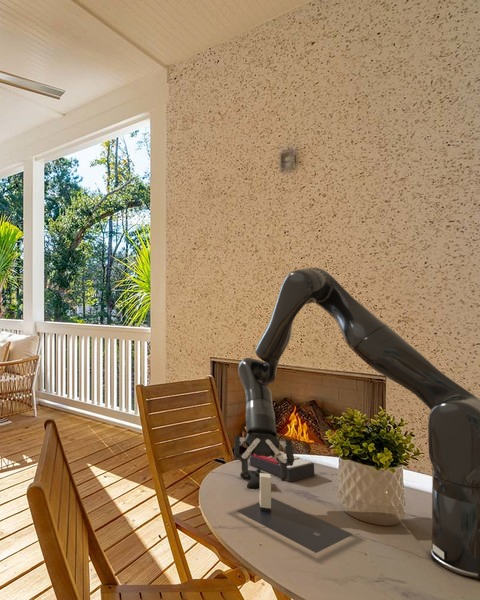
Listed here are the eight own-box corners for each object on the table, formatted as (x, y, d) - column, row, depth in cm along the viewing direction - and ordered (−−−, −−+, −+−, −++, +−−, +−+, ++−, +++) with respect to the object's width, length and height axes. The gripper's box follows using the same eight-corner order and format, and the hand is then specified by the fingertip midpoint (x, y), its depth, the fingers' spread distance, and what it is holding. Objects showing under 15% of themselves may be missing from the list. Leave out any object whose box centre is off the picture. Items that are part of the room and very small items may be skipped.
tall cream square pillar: (269, 507, 107) (270, 473, 107) (271, 512, 105) (271, 477, 105) (259, 506, 108) (259, 472, 108) (260, 510, 105) (260, 476, 105)
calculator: (272, 447, 142) (314, 460, 129) (273, 460, 142) (315, 475, 129) (248, 452, 138) (289, 466, 124) (249, 466, 137) (290, 481, 124)
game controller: (238, 473, 128) (253, 460, 127) (251, 487, 127) (266, 473, 127) (246, 487, 118) (262, 473, 118) (260, 502, 118) (276, 487, 117)
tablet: (360, 539, 95) (360, 535, 95) (318, 561, 87) (318, 556, 87) (271, 499, 114) (271, 495, 114) (230, 513, 106) (230, 510, 106)
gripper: (233, 410, 118) (235, 467, 107) (290, 415, 114) (298, 475, 103) (232, 424, 123) (234, 480, 112) (287, 429, 119) (294, 487, 108)
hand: (264, 477), depth 108 cm, fingers open, 8 cm apart
